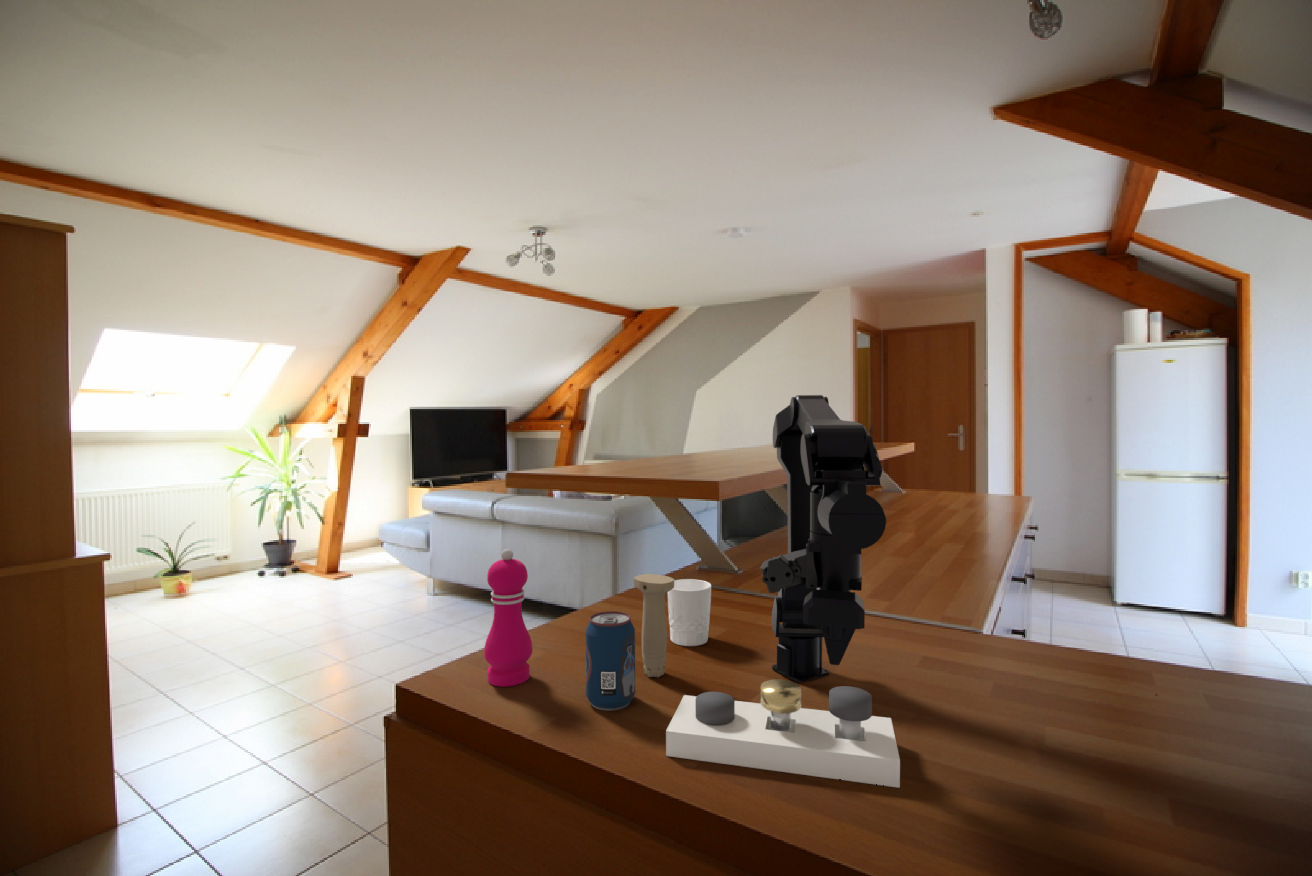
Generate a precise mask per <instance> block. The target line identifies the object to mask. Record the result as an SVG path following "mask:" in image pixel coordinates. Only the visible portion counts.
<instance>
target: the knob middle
mask: <svg viewBox="0 0 1312 876" xmlns="http://www.w3.org/2000/svg"><path fill="white" fill-rule="evenodd" d="M760 704H761V705H762V707H764V708H765V709H767V710H769V711H771V727H772V728H773V729H775V730H778V731H787V730H789V729H790V728H791V713H792V712H796V711H798V710H799V709H800V708H802V687H801V686H800V685H799V684H797V683H796V682H793V681H791V680H786V679H781V678H779V679H777V678H776V679H769V680H765V681H763V682H761V684H760Z"/></svg>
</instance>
